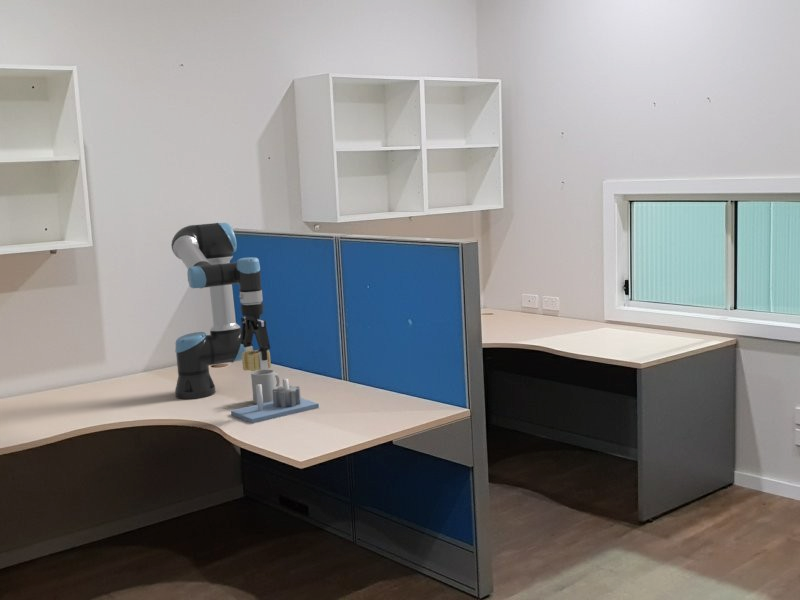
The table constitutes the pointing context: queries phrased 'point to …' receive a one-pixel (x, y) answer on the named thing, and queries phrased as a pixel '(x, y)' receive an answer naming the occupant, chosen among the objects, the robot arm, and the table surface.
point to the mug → (265, 384)
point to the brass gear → (253, 360)
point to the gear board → (275, 404)
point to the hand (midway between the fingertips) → (257, 367)
